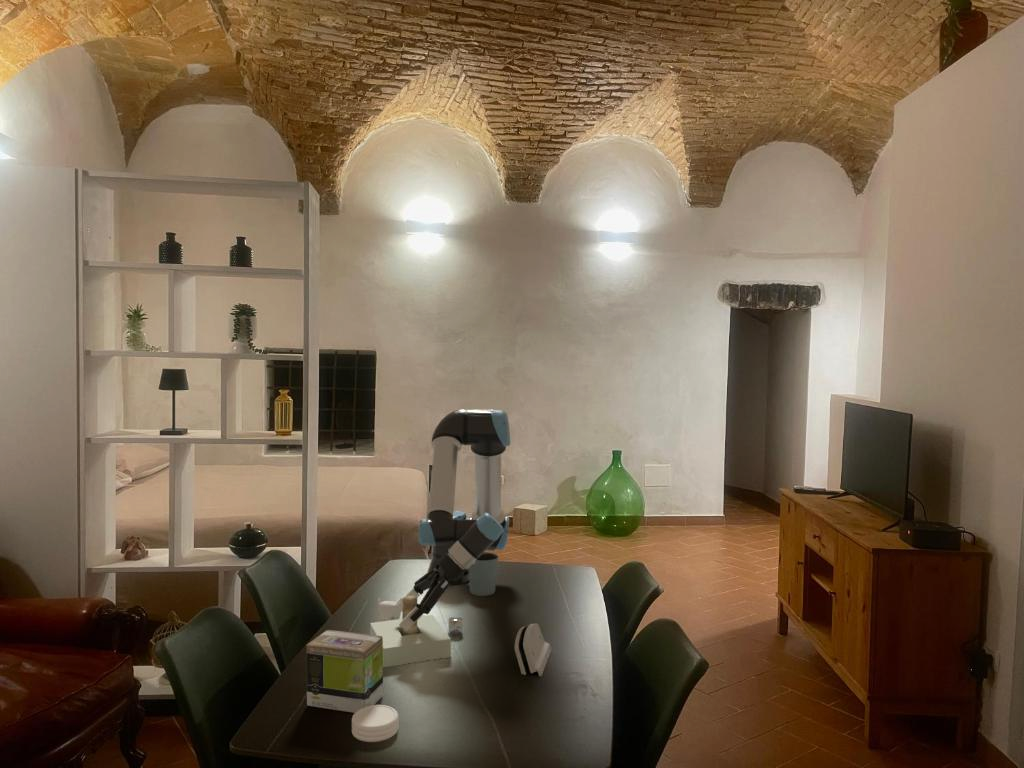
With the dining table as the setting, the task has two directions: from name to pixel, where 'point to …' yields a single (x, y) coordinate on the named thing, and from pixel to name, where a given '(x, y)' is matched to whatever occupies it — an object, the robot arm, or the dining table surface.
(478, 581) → the grey blue cup
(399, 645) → the sage block
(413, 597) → the maple pin
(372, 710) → the coaster
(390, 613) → the elephant figurine
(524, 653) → the magnetic window cleaner
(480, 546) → the robot arm
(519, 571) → the dining table surface
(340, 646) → the tea box
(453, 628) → the steel stub
